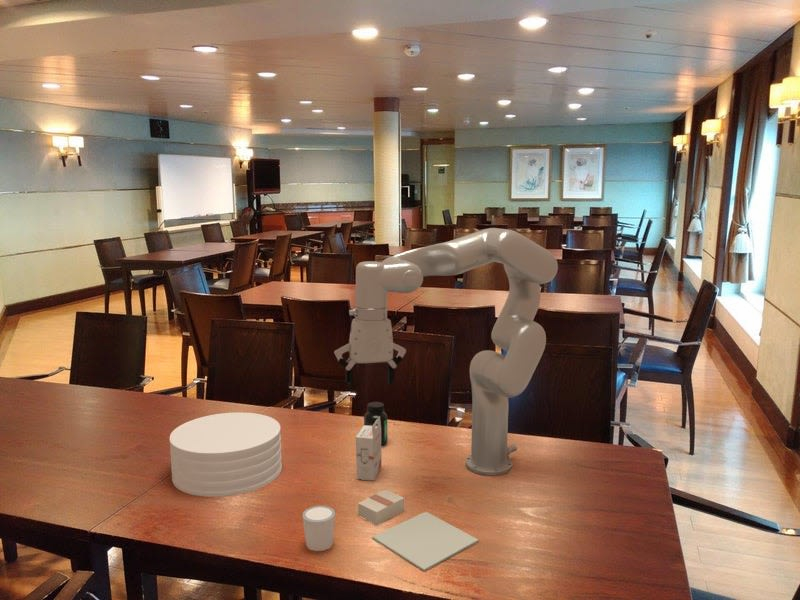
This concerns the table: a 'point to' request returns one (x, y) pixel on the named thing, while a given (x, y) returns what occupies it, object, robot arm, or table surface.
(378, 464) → the ink cartridge box
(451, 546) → the mat
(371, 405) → the supplement bottle
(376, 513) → the card box
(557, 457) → the table surface
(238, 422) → the plate stack
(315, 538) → the shot glass
